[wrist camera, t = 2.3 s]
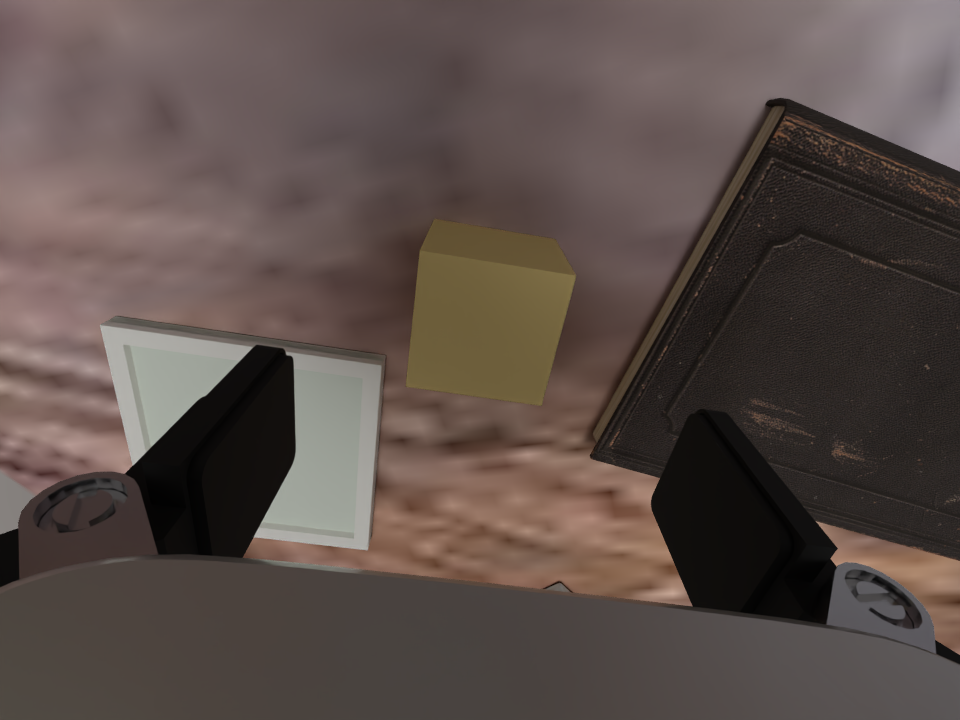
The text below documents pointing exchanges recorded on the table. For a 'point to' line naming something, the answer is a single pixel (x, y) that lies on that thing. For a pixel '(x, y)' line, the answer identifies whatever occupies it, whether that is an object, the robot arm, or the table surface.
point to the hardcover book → (818, 332)
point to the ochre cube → (487, 312)
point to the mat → (318, 418)
